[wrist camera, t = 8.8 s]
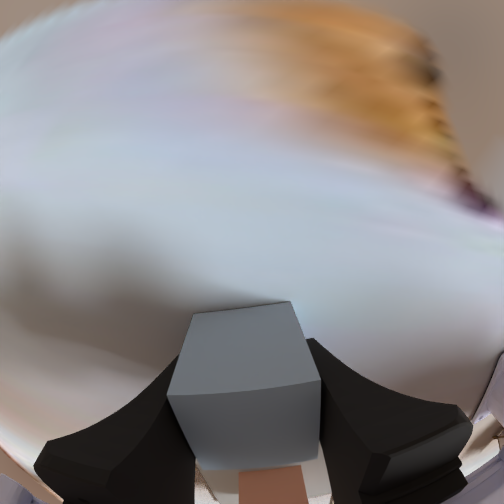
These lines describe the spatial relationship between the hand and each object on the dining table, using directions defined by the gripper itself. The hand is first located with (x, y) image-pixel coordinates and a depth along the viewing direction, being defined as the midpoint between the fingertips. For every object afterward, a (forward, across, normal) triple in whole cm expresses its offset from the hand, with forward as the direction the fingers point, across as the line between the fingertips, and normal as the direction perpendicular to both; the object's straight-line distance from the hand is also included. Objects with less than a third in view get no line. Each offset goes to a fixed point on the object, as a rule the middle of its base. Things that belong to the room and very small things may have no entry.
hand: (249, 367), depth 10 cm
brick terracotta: (+1, 0, +12) cm, 12 cm away
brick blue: (+1, 0, 0) cm, 1 cm away
